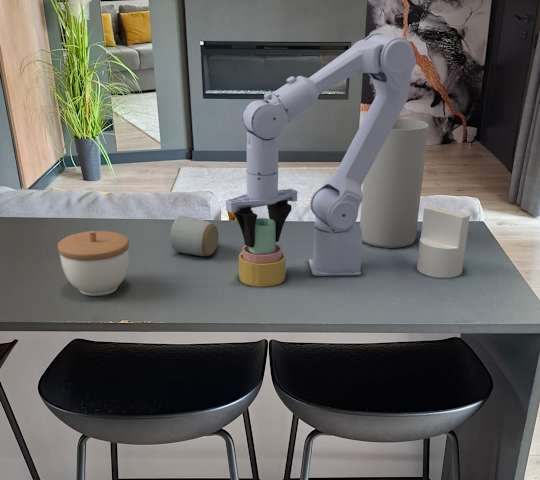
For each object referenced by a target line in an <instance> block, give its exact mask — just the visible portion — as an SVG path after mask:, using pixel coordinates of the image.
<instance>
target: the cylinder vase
mask: <svg viewBox="0 0 540 480" xmlns="http://www.w3.org/2000/svg"><path fill="white" fill-rule="evenodd" d="M428 133H429V124H428V123H427V122H425V121H423V120H419V119H412V118H401V117H398V118H397V120H396V122H395V124H394V125H393V127H392V129H391V131H390V133H389V135H388V137H387V138H386V140H385V142H384V144H383V146H382V148H381V150H380V151H379V153H378V155H377V157H376V159H375V161H374V163H373V164H372V166H371V168H370V170H369V172H368V174H367V176H366V177H365V179H364V181H363V183H362V188H361V190H362V198H363V199H362V201H361V203H360V206H361V207H360V216H359V217H360V218H359V219H360V220H359V226H360V227H361V230H362V243H363V242H364V243H365V244H367V245H370V246H373V247H377V248H384V249H399V248H404V247H407V246H411V245H412V244H413V243H415V241H416V238H417V231H418V230H417V229H418V223H419V222H418V221H419V213H420V204H421V196H422V185H423V179H424V168H425V161H426V160H425V159H426V153H427V152H426V151H427V143H428Z"/></svg>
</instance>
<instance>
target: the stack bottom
mask: <svg viewBox="0 0 540 480" xmlns="http://www.w3.org/2000/svg"><path fill="white" fill-rule="evenodd" d="M286 256H287V255H286V254H285V252H283V251H282V259H281V260H280V261H278V262H274V263H268V264H257V263H251V262H247V261H245V260H243V251H241V252H240V253H239V254H238V279H239V281H240V282H241V283H242V284H245V285H248V286H252V287H260V288H261V287H262V288H263V287H264V288H265V287H272V286H273V287H274V286H277V285H280V284H282V283H283V282H284V281H285V280H286V268H287V267H286V265H287V263H286V262H287V257H286Z"/></svg>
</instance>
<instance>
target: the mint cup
mask: <svg viewBox="0 0 540 480" xmlns="http://www.w3.org/2000/svg"><path fill="white" fill-rule="evenodd" d="M275 241H276V222H275V221H274V220H272V219H269V217H268V218H267V217H257V219H256V223H255V230H254V247H251V248H250V247H249V251H250V252H251V253H254V254H259V255H265V254H271V253H273V252H274V251H275V244H276V242H275Z"/></svg>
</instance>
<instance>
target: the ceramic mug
mask: <svg viewBox="0 0 540 480" xmlns="http://www.w3.org/2000/svg"><path fill="white" fill-rule="evenodd" d="M169 235H170V236H169V238H170V239H169V241H170V246H171V248H172V250H173V251H174V252H176V253H182V254H186V255H187V254H188V255H194V256H198V257H209V256H211V255H213V254H214V252H215V251H216V249H217V247H218V244H219V229H218V227H217V226H216V224H215V223H214V222H213V223H212V222H210V221H209V220H204V219H199V218H195V217H192V216H186V215H178V216H177V217H176V218H175V219H174V221H173V223H172V226H171V229H170V234H169Z"/></svg>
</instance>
